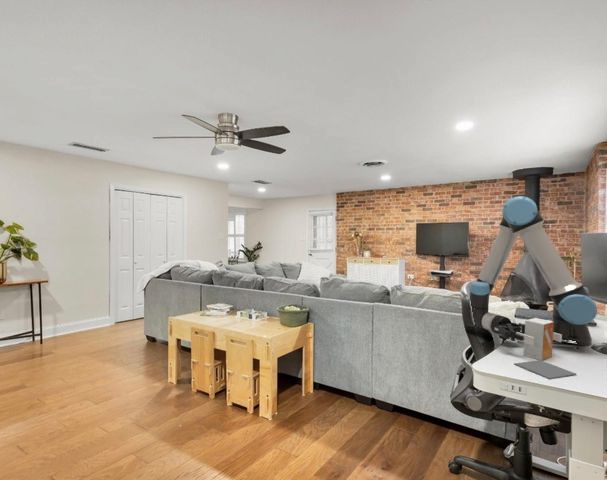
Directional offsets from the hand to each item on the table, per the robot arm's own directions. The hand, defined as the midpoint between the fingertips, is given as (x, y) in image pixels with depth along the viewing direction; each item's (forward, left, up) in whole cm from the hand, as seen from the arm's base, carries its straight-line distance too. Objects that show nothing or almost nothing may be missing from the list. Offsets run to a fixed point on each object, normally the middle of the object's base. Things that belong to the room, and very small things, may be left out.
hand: (547, 339), depth 124 cm
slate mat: (+10, +7, -7) cm, 14 cm away
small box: (0, -3, -7) cm, 8 cm away
